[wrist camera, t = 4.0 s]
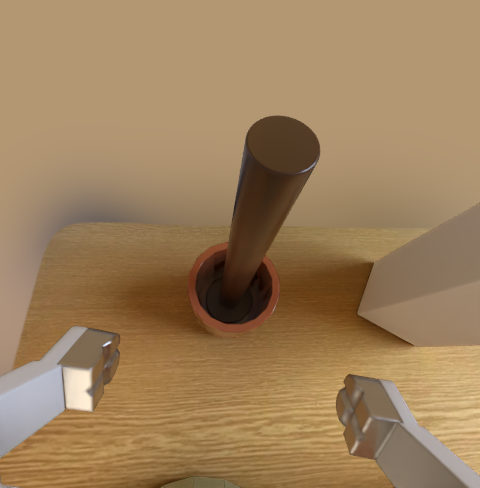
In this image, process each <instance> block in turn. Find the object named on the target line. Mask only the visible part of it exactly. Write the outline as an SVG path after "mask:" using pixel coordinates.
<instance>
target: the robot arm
mask: <svg viewBox="0 0 480 488" xmlns="http://www.w3.org/2000/svg"><path fill="white" fill-rule="evenodd" d="M119 343H120V335H119V334H117V333H113V332H108V331H103V330H98V329H93V328H86V327H81V326H76V325H75V326H73V327H71V328H70V329H69V330H68V331H67V332H66V333H65V334H64V335H63V336H62V337H61V338H60V339H59V340H58V341H57V342H56V344H55V345H54V346H53V347H52V348H51V349H50V350H49V351H48V352H47V353H46V354H45V355H44V356H43V357H42V358H41V359H40V360H39V361H32V362H30V363H27V364H25V365H23V366H21V367H19V368H16V369H14V370H12V371H10V372H8V373H5V374H3V375H1V376H0V458H1V457H3V456H4V455H5V454H7V453H8V452H9V451H11V450H12V449H13V448H15V447H16V446H17V445H19V444H20V443H22V442H23V441H24V440H26V439H27V438H28V437H30V436H31V435H32V434H34V433H35V432H36V431H38V430H39V429H40V428H42V427H43V426H44V425H46V424H47V423H48V422H50V421H51V420H53V419H54V418H55V417H57V416H58V415H59V414H61V413H62V412H63V411H65V409H72V410H80V411H87V412H93V411H94V409H95V408H96V406H97V404H98V403H99V401H100V399H101V397H102V396H103V394H104V385H106V384H107V383H109V382H110V381H111V380H112V378H113V376H114V375H115V372H116V370H117V367H118V364H119V359H120V352H119V351H118V349H117V347H118V345H119ZM344 384H345V387H344V388H343V389H341V390H340V391H339V393H338V395H337V400H336V409H337V415H338V418H339V420H340V422H341V423H342V424H343V425H344V426H345V427H346V428H345V430H344V433H343V434H344V437H345V440H346V444H347V447H348V450H349V453H350V455H354V456H359V457H364V458H369V459H374V460H376V463H377V464H378V465H379V467H380V468H381V469H382V471H383V472H384V473H385V475H386V476H387V477H388V479H389V480H390V481H391V483H392V484H393V485H394V487H395V488H480V476H479V475H478V474H477V473H476V472H475V471H473V470H472V469H471V468H470V467H469V466H468V465H467V464H465V463H464V462H463V461H462V460H461V459H460V458H459V457H457V456H456V455H455V454H454V453H453V452H452V451H451V450H449V449H448V448H447V447H446V446H445V445H444V444H443V443H441V442H440V441H439V440H438V439H437V438H436V437H435V436H433V435H432V434H431V433H430V432H429V431H428V430H427V429H425V428H424V427H421V426H419V425H418V423H417V421H416V420H415V418H414V416H413V415H412V413H411V411H410V409H409V408H408V406H407V404H406V403H405V401H404V399H403V398H402V396H401V394H400V392H399V391H398V389H397V387H396V386H395V384H394V383H393V382H392V381H389V380H382V379H375V378H370V377H364V376H358V375H352V374H349V375H347V376H346V378H345V380H344ZM0 488H21V487H15V486H8V485H2V484H1V476H0Z"/></svg>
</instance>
